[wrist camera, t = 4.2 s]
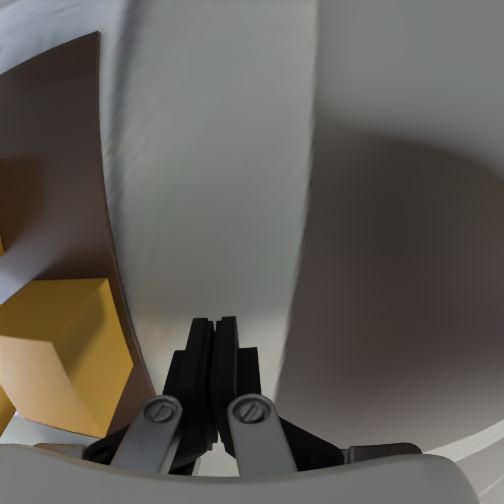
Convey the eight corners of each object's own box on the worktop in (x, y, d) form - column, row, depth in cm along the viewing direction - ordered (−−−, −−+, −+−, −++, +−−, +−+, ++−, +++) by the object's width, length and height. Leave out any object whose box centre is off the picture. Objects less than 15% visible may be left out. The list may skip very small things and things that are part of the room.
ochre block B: (30, 280, 12) (-29, 329, 7) (107, 277, 12) (52, 342, 7) (60, 358, 13) (21, 417, 9) (133, 365, 14) (104, 438, 9)
